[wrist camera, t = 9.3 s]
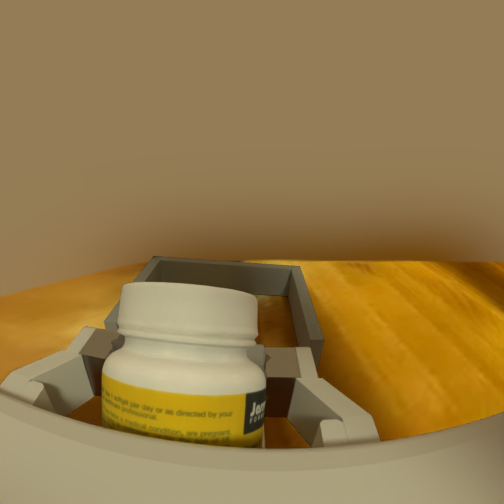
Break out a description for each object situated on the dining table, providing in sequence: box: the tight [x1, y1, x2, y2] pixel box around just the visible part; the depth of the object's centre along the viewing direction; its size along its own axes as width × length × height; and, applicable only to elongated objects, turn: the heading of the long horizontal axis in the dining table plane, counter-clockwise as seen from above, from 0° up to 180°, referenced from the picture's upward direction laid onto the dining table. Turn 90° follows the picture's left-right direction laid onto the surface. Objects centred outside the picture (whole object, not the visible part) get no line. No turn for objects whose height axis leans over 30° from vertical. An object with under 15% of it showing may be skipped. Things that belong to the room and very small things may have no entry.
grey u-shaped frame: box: [104, 256, 324, 371], centre depth 22 cm, size 13×11×2 cm
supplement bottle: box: [102, 282, 266, 448], centre depth 8 cm, size 5×5×8 cm
